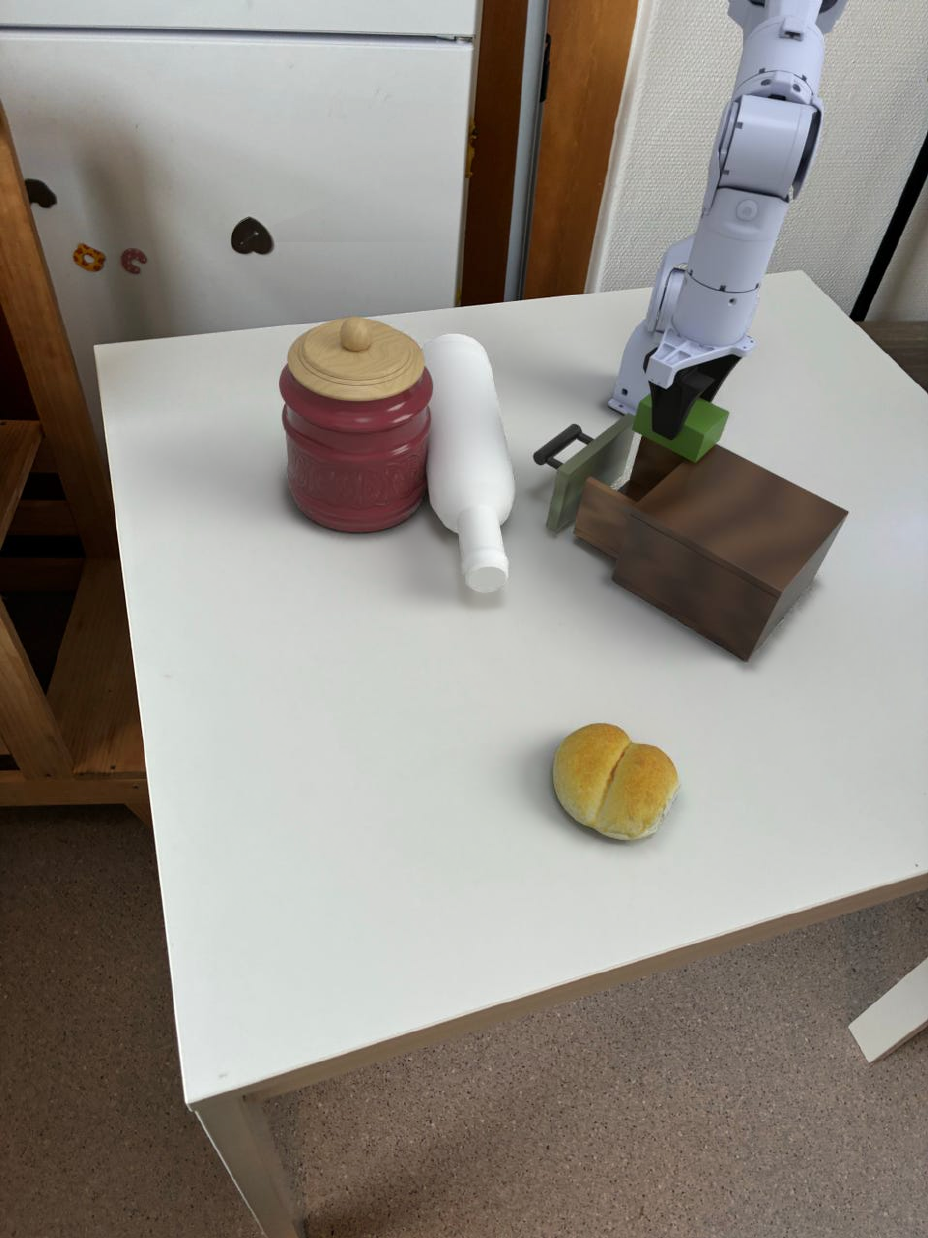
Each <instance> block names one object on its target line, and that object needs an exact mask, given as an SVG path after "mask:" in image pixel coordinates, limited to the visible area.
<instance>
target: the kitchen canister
mask: <svg viewBox="0 0 928 1238" xmlns="http://www.w3.org/2000/svg"><path fill="white" fill-rule="evenodd" d="M421 349H422V347H421V346H420V345H419V344H418V342H416V340H415V339H413V338H412V337H411V336H409V334H407V333H405V332H403V331H402V330H400V329H397V328H395V327H393V326H392V325H389V324H387V323H385V322H383V321H379V320H376V319H372V318H366V317H365V318H364V317H361V316H351V317H344V318H337V319H332V320H329V321H326V322H324V323H321V324H320V325H317V326H315V327H313V328H310V329H308V330H307V331H305V332H303V333H302V334H300V335H299V336H298V337H297V338H295V340H294V341H293V342H292V343H291V345H290V347H289V348H288V352H287V357H286V361H287V362H286V364H285V366H284V367H283V368H282V370H281V372H280V375H279V379H278V389H279V393H280V396H281V398H282V400H283V402H284V404H283V407H282V411H281V423H282V427H283V429H284V432H285V441H286V442H285V443H286V453H287V463H286V464H287V465H286V476H287V484H288V488H289V491H290V493H291V495H292V499H293V501H294V503H295V504H296V506H297V508H298V509H299V510H300V511H301V512H302V514H304V515H305V516H306V517H308V518H309V519H310V520H312V521H314V523H315V522H316V524H319V525H321V526H323V527H327V528H329V529H332V530H336V531H341V532H348V533H369V532H377V531H382V530H385V529H389V528H391V527H394V526H396V525H398V524H400V523H402V522H404V521H405V520H407V519H408V518H409V517H411V516H412V515H413V514H414V513H415V512H416V511H417V510H418V508H419V507H420V505H421V504H422V502H423V500H424V499H423V498H424V495H425V493H426V490H427V488H428V480H427V472H426V462H427V452H428V435H429V430H430V427H431V421H432V416H431V411H430V408H429V405H428V404H429V402H430V400H431V398H432V394H433V380H432V376H431V374H430V372H429V370H428V369H427V367H426V366H425V358H424V354H423V352H422V350H421Z"/></svg>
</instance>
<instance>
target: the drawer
mask: <svg viewBox="0 0 928 1238" xmlns="http://www.w3.org/2000/svg"><path fill="white" fill-rule="evenodd" d="M634 419H635V416H634V415H632V414H631V413H627V414H626V415H625V414H623V416H622V417H620V418H619V419H618V420H617V421H616V422H614V423H613V424H612V425H610V427H608V428H607V429H605V430H604V431H603V432H602V433H600V434H599V435H598V436H597V437H595V438H594V437H591V436H590V435H588V434H586V433H584V432H583V430H582V427H581V426H580V425H579V424H577V423H572V424H570V425H569V426H568V427H566V428H565V429H564V430H563V431H561V432H559V433H558V434H557V435H555V436H554V437H553V438H551V440H549V441H548V442H546V443H545V444H544V445H543V446H541V447H540V448H538V449H537V450H535V452H534V453H533V454H532V459H533V461H534V463H535V464H536V465H538V466H540V467H541V466H542V467H543V466H545V465H547V466H549V467H550V468H552V469H554V470H556V474H555V478H554V483H553V488H552V494H551V500H550V503H549V509H548V513H547V519H546V524H545V527H546V528H548V529H550V530H551V531H553V532H555V533H557V532H559V531H560V530H561V529H562V528H563V527H564V526H565V525H567V523H570V521H571V520H573V519H574V518H575V517H576V519H575V524H574V528H573V531H572V532H573V533H572V534H574V535H575V536H577V537H579V538H580V539H582V540H583V541H585V542H587V543H589V544H591V545H592V546H593V547H595V548H597V549H598V550H600V551H601V552H604V553H605V554H607V555H609V556H610V557H612V558H614V559H616V560H617V558H618V555H619V552H620V548H621V545H622V541H623V538H624V534H625V531H626V528H627V524H628V521H629V517H630V514H631V511H632V507H633V506H635V505H636V504H637V503H638V502H639V501H640V500H641V499H642V498H643V497H645V496H646V495H647V494H648V493H649V492H650V491H651V490H652V489H653V488H654V487H656V486H657V485H658V484H659V483H660V482H661V481H662V480H663V479H664V478H666V477H667V476H668V475H669V474H670V473H671V472H672V471H673V470H674V469H676V468H677V467H678V466H679V465H680V464H681V463H682V462H683V461H684V460H685V459H687V458H685V457H683V456H681V455H679V454H677V453H675V452H673V451H671V450H669V449H667V448H666V447H664V446H662V445H660V444H658V443H656V442H654V441H652V440H650V439H648V438H646V437H644V436H643V435H640V439H639V444H638V447H637V451H636V454H635V458H634V460H633V461H634V462H633V464H632V469H631V473H630V476H629V479H628V480H627V481H626V482H625V483H623V484H622V485H621V486H620V487H618V489H614V488H613V487H611V486H612V485H613V484H615V482H617V481H618V480H619V479H620V478H622V477H623V476H624V474H625V471H626V467H627V463H628V459H629V455H630V453H631V448H632V445H633V440H634V437H635V434H636V432H635V431H633V430H632V427H633V423H634ZM576 440H577V441H579V442H580V443H583V444H584V445H585V446H584V447H583V448H582V449H580V450H579V451H577V452H576V453H575V454H574V455H572V457H570V458H569V459H568V460H567V461H565V462H564V463H563V461H560V460H558V459H557V458H555V457H556V456H557V455H559V454H560V453H561V452H562V451H564V450H565V449H566V448H568V447H569V446H570V445H572V444H573V443H575V442H576Z"/></svg>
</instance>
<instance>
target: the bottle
mask: <svg viewBox="0 0 928 1238" xmlns="http://www.w3.org/2000/svg"><path fill="white" fill-rule="evenodd" d="M421 350H422V352H423V354H424V358H425V366H426V367H427V369H428V370H429V372H430V374H431V376H432V380H433V394H432V398H431V400H430V402H429V404H428V405H429V408H430V411H431V416H432V421H431V427H430V430H429V435H428V452H427V462H426V472H427V480H428V483H427V488H428V495H429V502H430V506H431V507H432V509H433V511H434V512H435V514H436V515H437V517H438V518H439V520H440V521H441V522H442V524H443V525H444V527H445V528H447V529H448V530H450V531H452V532H453V533H455V534H458V535H457V536H458V542H459V548H460V554H461V560H462V562H461V564H460V566H461V567H460V568H461V574H462V575H463V577H464V583H465V585H466V586H467V587H468V588H469V589H471V590H473V591H475V592H478V593H490V592H494V591H497V590H498V589H500V588H502V587H503V586H504V585H505V584H506V583H507V582H508V579H509V568H510V567H509V559H508V557H507V556H506V553H505V547H504V543H503V537H502V531H501V526H502V525H503V524H504V523H505V522H506V521H507V520H508V518H509V516H510V514H511V511H512V509H513V506H514V503H515V499H516V493H517V492H516V480H515V475H514V470H513V465H512V460H511V457H510V451H509V447H508V442H507V439H506V433H505V429H504V423H503V420H502V414H501V410H500V405H499V399H498V395H497V391H496V387H495V382H494V376H493V375H494V374H493V367H492V364H491V362H490V360H489V359H490V358H489V356H488V354H487V351H486V350H485V348H484V346H483V345H482V344H481V343H480V342H479V341H477V340H476V339H475V338H473V337H471V336H468V335H465V334H463V333H446V334H443V335H438V336H435V337H433V338H432V339H431V340H429V341H428V342H426V343H425V344H424V345H423V346H422V347H421Z"/></svg>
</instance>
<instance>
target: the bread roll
mask: <svg viewBox="0 0 928 1238" xmlns="http://www.w3.org/2000/svg"><path fill="white" fill-rule="evenodd" d="M552 783H553V784H552V785H553V787H554V791H555V794H556V797H557V799H558V802H559V803H560V804H561V806H562V808H563V809H564V811H566V813H568V815H570V816H571V817H572V818H573V819H574V820H575V821H576V822H578V823H580V824H582V825H583V826H586V827H590V828H592V829H594V830H595V831H597V832H598V833H600V834H602V835H603V836H604V837H609V838H612V839H615V840H620V841H638V840H642V839H644V838H647V837H649V836H651V835H653V834H655V833H656V832H657V830H658V829H659V828H660V826H661V825H662V823H663V822H664V820H665V819H666V818H667V814H668V812H669V811H670V810H671V808H672V807H673V801H674V800H675V799H676V798H677V796H678V792H679V791H680V789H681V786H682V784H681V782H680V780H679V776H678V771H677V768H676V766H675V764H674V762H673V761H672V759H671V758H670V757H669V755H668V754H666V752H665V751H664V750H662V749H661V748H659V747H658V746H655V745H652V744H648V743H638V742H633V740H631V738H630V736H629V735H628V734H627V732H626V731H625V730H624V729H622V727H619V726H618V725H614V724H610V723H605V722H602V723H601V722H596V723H589V724H587V725H585V726H582V727H579V728H578V729H576V730H575V731H572V732H571V733H569V734H568V735H567V736H565V738H564V739H563V740H562V741H561V743H560V744H559V745H558V747H557V749H556V750H555V753H554V757H553V763H552Z"/></svg>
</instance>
